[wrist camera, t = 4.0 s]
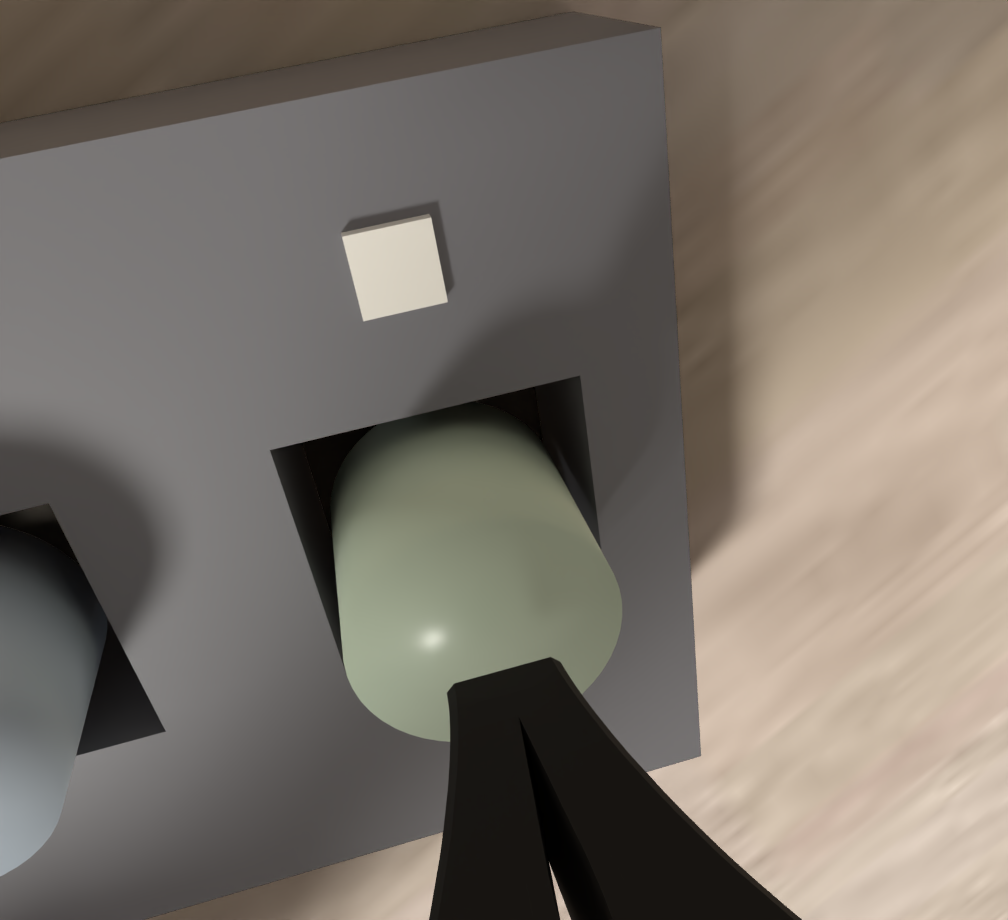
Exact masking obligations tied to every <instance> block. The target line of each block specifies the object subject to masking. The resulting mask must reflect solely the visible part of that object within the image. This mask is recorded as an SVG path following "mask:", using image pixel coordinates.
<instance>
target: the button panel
mask: <svg viewBox="0 0 1008 920" xmlns="http://www.w3.org/2000/svg"><path fill="white" fill-rule="evenodd" d="M534 386H535V392H536V399H537V405H538V412H539V419H540V425H541V432H542V438H543V445H544V446H545V448H546V450H547V451H548V453H549V455H550V457H551V459H552V461H553V462H554V464H555V466H556V468H557V470H558V472H559V473H560V475H561V477H562V479H563V481H564V483H565V485H566V486H567V488H568V490H569V492H570V494H571V496H572V498H573V499H574V501H575V503H576V505H577V507H578V509H579V510H580V512H581V514H582V516H583V518H584V520H585V522H586V523H587V525H588V527H589V529H590V531H591V533H592V534H593V536H594V538H595V540H596V542H597V544H598V546H599V547H600V549H601V551H602V553H603V555H604V557H605V558H606V560H607V562H608V564H609V566H610V568H611V570H612V571H613V573H614V575H615V578H616V580H617V583H618V586H619V589H620V594H621V599H622V622H621V630H620V633H619V637H618V640H617V644H616V646H615V648H614V651H613V653H612V655H611V657H610V659H609V661H608V662H607V664H606V666H605V667H604V669H603V671H602V672H601V673H600V674H599V676H598V677H597V678H596V680H595V681H594V682H593V683H592V684H591V685H590V686H589V687H588V688H587V689H586V690H585V692H584V693H583V694H582V695H583V697H584V698H585V699H586V701H587V702H588V703H589V705H590V706H591V707H592V709H593V710H594V711H595V713H596V714H597V715H598V716H599V718H600V719H601V720H602V721H603V723H604V724H605V725H606V726H607V728H608V729H609V730H610V731H611V733H612V734H613V735H614V736H615V737H616V739H617V740H618V741H619V742H620V743H621V744H622V746H623V747H624V748H625V749H626V750H627V752H628V753H629V754H630V755H631V756H632V757H633V758H634V759H635V760H636V762H637V763H638V764H639V765H640V766H641V767H642V768H643V769H644V770H645V771H646V772H648V771H652V770H655V769H659V768H662V767H665V766H669V765H672V764H676V763H679V762H682V761H686V760H689V759H693V758H696V757H699V756H701V747H700V729H699V711H698V693H697V675H696V657H695V639H694V621H693V603H692V585H691V567H690V549H689V531H688V512H687V494H686V476H685V458H684V440H683V422H682V404H681V386H680V368H679V350H678V332H677V314H676V296H675V278H674V260H673V242H672V224H671V206H670V188H669V170H668V152H667V133H666V115H665V97H664V79H663V61H662V43H661V27H655V26H649V25H644V24H638V23H633V22H627V21H622V20H616V19H611V18H605V17H600V16H594V15H588V14H583V13H577V12H569V13H564V14H559V15H554V16H549V17H543V18H538V19H533V20H528V21H523V22H518V23H513V24H507V25H502V26H497V27H492V28H487V29H482V30H477V31H471V32H466V33H461V34H456V35H451V36H446V37H441V38H435V39H430V40H425V41H420V42H415V43H410V44H405V45H399V46H394V47H389V48H384V49H379V50H374V51H369V52H363V53H358V54H353V55H348V56H343V57H338V58H333V59H327V60H322V61H317V62H312V63H307V64H302V65H297V66H291V67H286V68H281V69H276V70H271V71H266V72H261V73H256V74H250V75H245V76H240V77H235V78H230V79H225V80H220V81H214V82H209V83H204V84H199V85H194V86H189V87H184V88H178V89H173V90H168V91H163V92H158V93H153V94H148V95H142V96H137V97H132V98H127V99H122V100H117V101H112V102H106V103H101V104H96V105H91V106H86V107H81V108H76V109H70V110H65V111H60V112H55V113H50V114H45V115H40V116H34V117H29V118H24V119H19V120H14V121H9V122H4V123H0V515H3V514H7V513H11V512H16V511H20V510H24V509H28V508H32V507H36V506H41V505H45V504H49V505H50V507H51V509H52V511H53V513H54V515H55V517H56V519H57V521H58V522H59V524H60V526H61V528H62V530H63V532H64V534H65V536H66V538H67V540H68V542H69V544H70V546H71V548H72V550H73V552H74V554H75V556H76V558H77V560H78V561H79V563H80V565H81V567H82V569H83V571H84V573H85V575H86V577H87V579H88V581H89V583H90V585H91V587H92V589H93V591H94V593H95V595H96V597H97V598H98V600H99V602H100V604H101V606H102V608H103V610H104V612H105V614H106V616H107V635H106V641H105V645H104V649H103V653H102V657H101V661H100V664H99V668H98V672H97V676H96V680H95V684H94V688H93V692H92V696H91V699H90V703H89V707H88V711H87V715H86V719H85V723H84V727H83V731H82V734H81V738H80V742H79V746H78V750H77V754H76V758H75V762H74V766H73V769H72V773H71V777H70V781H69V785H68V789H67V793H66V797H65V801H64V804H63V808H62V812H61V815H60V818H59V821H58V823H57V825H56V827H55V829H54V831H53V833H52V834H51V836H50V837H49V838H48V840H47V841H46V842H45V843H44V845H43V846H42V847H41V848H40V849H39V850H38V851H37V852H36V853H35V854H34V855H33V856H32V857H30V858H29V859H28V860H26V861H25V862H24V863H22V864H21V865H19V866H18V867H16V868H15V869H13V870H11V871H9V872H8V873H6V874H4V875H2V876H0V920H145V919H148V918H152V917H155V916H159V915H162V914H165V913H169V912H172V911H176V910H179V909H182V908H186V907H189V906H193V905H196V904H199V903H203V902H206V901H210V900H213V899H216V898H220V897H223V896H227V895H230V894H233V893H237V892H240V891H244V890H247V889H250V888H254V887H257V886H261V885H264V884H267V883H271V882H274V881H278V880H281V879H284V878H288V877H291V876H295V875H298V874H301V873H305V872H308V871H312V870H315V869H319V868H322V867H325V866H329V865H332V864H336V863H339V862H342V861H346V860H349V859H353V858H356V857H359V856H363V855H366V854H370V853H373V852H376V851H380V850H383V849H387V848H390V847H393V846H397V845H400V844H404V843H407V842H410V841H414V840H417V839H421V838H424V837H427V836H431V835H434V834H438V833H441V832H443V829H444V819H445V810H446V801H447V791H448V780H449V761H450V742H446V741H437V740H430V739H425V738H421V737H417V736H414V735H410V734H408V733H405V732H403V731H400V730H398V729H396V728H394V727H392V726H390V725H389V724H387V723H385V722H383V721H382V720H380V719H379V718H378V717H377V716H375V715H374V714H373V713H372V712H370V711H369V710H368V708H367V707H366V706H365V705H364V704H363V703H362V702H361V701H360V699H359V698H358V696H357V695H356V693H355V692H354V690H353V689H352V687H351V684H350V682H349V680H348V677H347V674H346V670H345V666H344V662H343V651H342V640H341V629H340V617H339V606H338V595H337V584H336V572H335V561H334V550H333V539H332V536H331V532H330V529H329V526H328V523H327V520H326V517H325V514H324V510H323V507H322V504H321V501H320V498H319V495H318V492H317V488H316V485H315V482H314V479H313V476H312V473H311V470H310V466H309V463H308V460H307V457H306V454H305V451H304V447H303V444H302V442H306V441H310V440H314V439H319V438H323V437H327V436H331V435H335V434H339V433H343V432H348V431H352V430H356V429H360V428H364V427H368V426H372V425H377V424H381V423H385V422H389V421H393V420H397V419H401V418H406V417H410V416H414V415H418V414H422V413H426V412H431V411H435V410H439V409H443V408H447V407H451V406H455V405H460V404H464V403H468V402H472V401H476V400H480V399H484V398H489V397H493V396H497V395H501V394H505V393H509V392H514V391H518V390H522V389H526V388H530V387H534Z"/></svg>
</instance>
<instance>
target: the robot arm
mask: <svg viewBox="0 0 1008 920" xmlns="http://www.w3.org/2000/svg"><path fill="white" fill-rule="evenodd" d="M447 698H448V705H449V716H450V761H449V780H448V791H447V801H446V810H445V819H444V829H443V838H442V846H441V853H440V860H439V866H438V871H437V877H436V883H435V889H434V895H433V901H432V906H431V912H430V918H429V920H560V916H559V911H558V906H557V901H556V896H555V891H554V885H553V880H552V875H551V870H550V865H551V868H552V871H553V873H554V876H555V878H556V881H557V884H558V886H559V889H560V891H561V894H562V897H563V899H564V902H565V904H566V907H567V910H568V912H569V915H570V917H571V920H802V919H801V918H799V917H798V916H797V915H796V914H794V913H793V912H792V911H791V910H790V909H788V908H787V907H786V906H785V905H784V904H783V903H781V902H780V901H779V900H778V899H777V898H776V897H774V896H773V895H772V894H771V893H770V892H769V891H767V890H766V889H765V888H764V887H763V886H762V885H761V884H759V883H758V882H757V881H756V880H755V879H754V878H752V877H751V876H750V875H749V874H748V873H747V872H746V871H745V870H744V869H743V868H741V867H740V866H739V865H738V864H737V863H736V862H735V861H734V860H733V859H732V858H731V857H729V856H728V855H727V854H726V853H725V852H724V851H723V850H722V849H721V848H720V847H719V846H718V845H717V844H716V843H715V842H714V841H713V840H712V839H710V838H709V837H708V836H707V835H706V834H705V833H704V832H703V831H702V830H701V829H700V828H699V827H698V826H697V825H696V824H695V823H694V822H693V821H692V820H691V819H690V818H689V817H688V816H687V815H686V814H685V813H684V812H683V811H682V810H681V809H680V808H679V807H678V806H677V805H676V804H675V803H674V802H673V801H672V800H671V799H670V797H669V796H668V795H667V794H666V793H665V792H664V791H663V790H662V789H661V788H660V787H659V786H658V785H657V784H656V782H655V781H654V780H653V779H652V778H651V777H650V776H649V775H648V774H647V773H646V771H645V770H644V769H643V768H642V767H641V766H640V765H639V764H638V763H637V762H636V760H635V759H634V758H633V757H632V756H631V755H630V754H629V753H628V752H627V750H626V749H625V748H624V747H623V746H622V744H621V743H620V742H619V741H618V740H617V739H616V737H615V736H614V735H613V734H612V733H611V731H610V730H609V729H608V728H607V726H606V725H605V724H604V723H603V721H602V720H601V719H600V718H599V716H598V715H597V714H596V713H595V711H594V710H593V709H592V707H591V706H590V705H589V703H588V702H587V701H586V699H585V698H584V697H583V695H582V694H581V692H580V691H579V690H578V688H577V687H576V685H575V684H574V682H573V681H572V679H571V678H570V676H569V675H568V673H567V672H566V670H565V669H564V667H563V665H562V663H561V662H560V661H558V660H556V659H554V658H552V657H548V658H545V659H541V660H538V661H534V662H530V663H527V664H523V665H519V666H516V667H512V668H509V669H505V670H501V671H498V672H494V673H490V674H487V675H483V676H479V677H476V678H472V679H469V680H465V681H461V682H458V683H454V684H453V686H452V687H451V688H450V689H449V691H448V692H447ZM549 863H550V865H549Z"/></svg>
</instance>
